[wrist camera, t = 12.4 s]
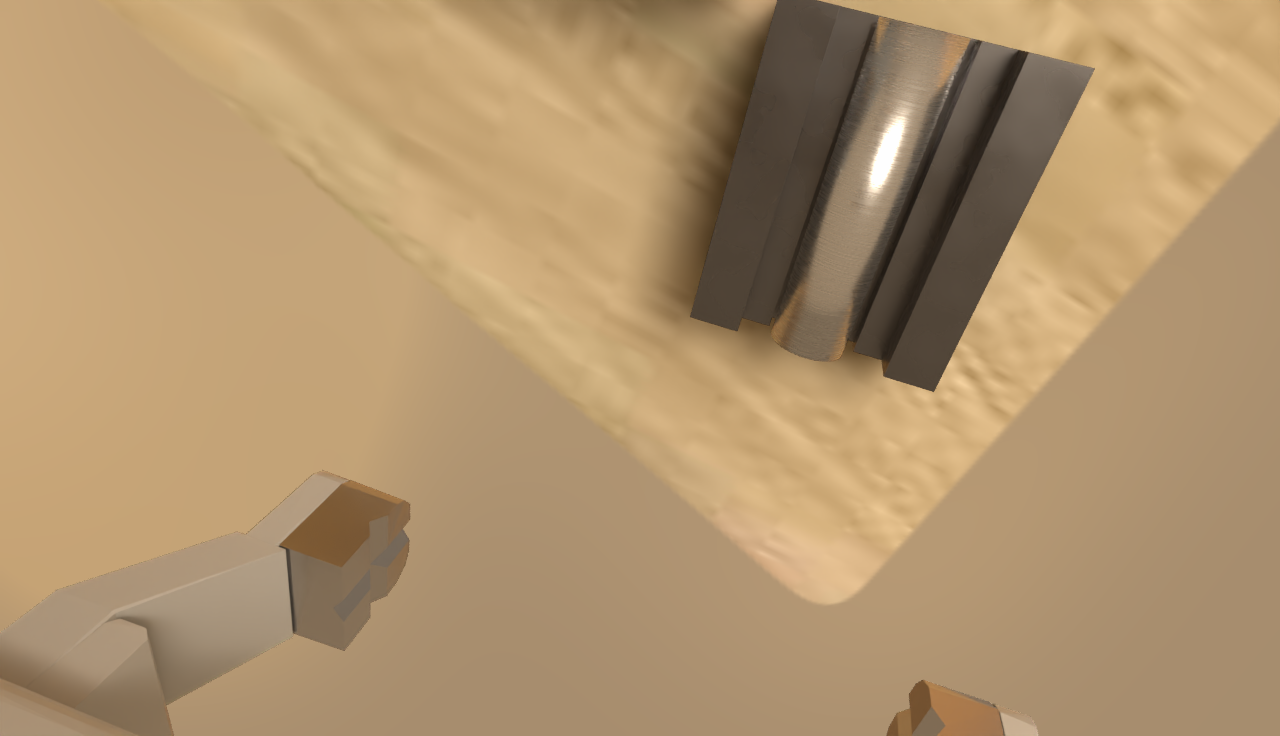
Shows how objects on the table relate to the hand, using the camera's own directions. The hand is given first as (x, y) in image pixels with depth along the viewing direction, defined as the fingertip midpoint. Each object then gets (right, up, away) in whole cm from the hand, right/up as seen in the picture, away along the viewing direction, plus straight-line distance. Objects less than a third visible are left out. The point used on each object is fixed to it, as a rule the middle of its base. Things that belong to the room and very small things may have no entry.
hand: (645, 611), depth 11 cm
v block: (+9, +12, +19) cm, 24 cm away
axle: (+9, +10, +17) cm, 21 cm away
